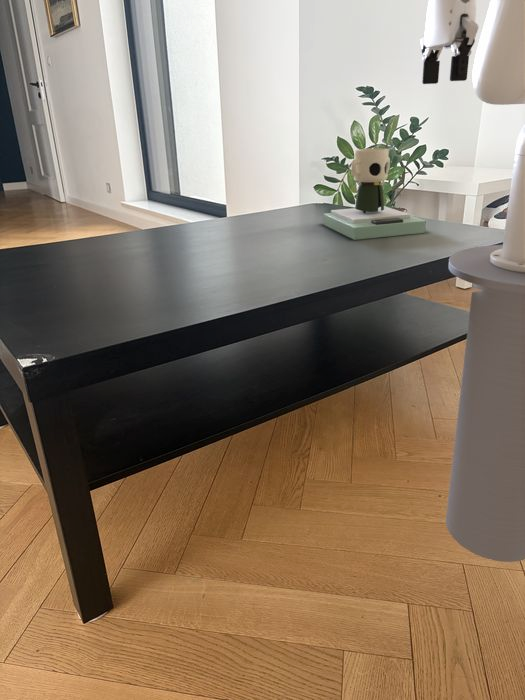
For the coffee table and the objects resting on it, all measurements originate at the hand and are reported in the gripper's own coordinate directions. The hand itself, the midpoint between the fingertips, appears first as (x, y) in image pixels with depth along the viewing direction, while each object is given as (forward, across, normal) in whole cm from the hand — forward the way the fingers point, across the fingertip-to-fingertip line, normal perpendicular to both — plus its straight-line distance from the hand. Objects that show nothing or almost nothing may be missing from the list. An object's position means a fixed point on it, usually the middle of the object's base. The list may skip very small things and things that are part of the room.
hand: (443, 82), depth 105 cm
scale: (+28, +8, +10) cm, 31 cm away
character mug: (+25, +9, +10) cm, 29 cm away
